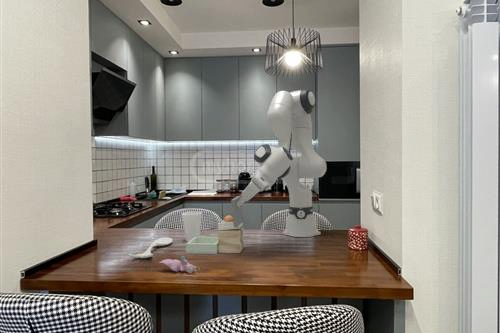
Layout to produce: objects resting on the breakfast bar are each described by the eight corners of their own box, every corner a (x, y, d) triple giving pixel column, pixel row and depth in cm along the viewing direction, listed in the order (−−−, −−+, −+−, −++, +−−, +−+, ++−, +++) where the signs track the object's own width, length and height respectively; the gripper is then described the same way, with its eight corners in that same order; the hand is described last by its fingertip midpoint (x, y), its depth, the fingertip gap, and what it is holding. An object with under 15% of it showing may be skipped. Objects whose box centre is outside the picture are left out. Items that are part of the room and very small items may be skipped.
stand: (223, 247, 151) (222, 226, 151) (243, 247, 150) (243, 226, 150) (218, 252, 142) (217, 231, 142) (239, 253, 141) (239, 231, 141)
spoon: (127, 262, 132) (127, 253, 132) (156, 242, 164) (156, 235, 164) (150, 262, 131) (150, 253, 131) (175, 242, 163) (175, 235, 163)
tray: (195, 245, 155) (195, 236, 155) (223, 245, 153) (223, 236, 153) (186, 253, 142) (185, 243, 142) (216, 254, 140) (216, 244, 140)
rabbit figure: (201, 274, 120) (164, 264, 125) (203, 257, 120) (166, 248, 125) (193, 280, 115) (154, 269, 119) (195, 262, 114) (156, 252, 119)
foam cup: (204, 237, 170) (203, 211, 170) (200, 242, 161) (199, 214, 161) (185, 237, 171) (185, 211, 171) (180, 242, 162) (179, 214, 162)
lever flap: (243, 223, 152) (240, 195, 152) (238, 230, 138) (234, 199, 138) (224, 225, 153) (221, 197, 153) (216, 231, 140) (213, 201, 139)
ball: (224, 222, 148) (226, 213, 148) (233, 224, 148) (235, 215, 147) (222, 224, 144) (224, 215, 144) (231, 226, 144) (233, 217, 143)
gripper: (259, 174, 154) (238, 196, 155) (253, 176, 133) (229, 201, 135) (269, 183, 153) (248, 206, 155) (265, 187, 133) (241, 212, 134)
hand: (239, 204), depth 145 cm, fingers open, 8 cm apart
